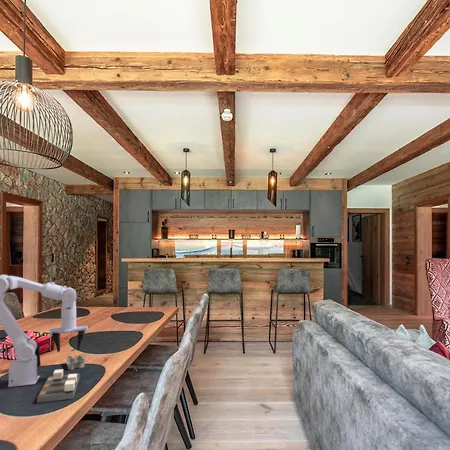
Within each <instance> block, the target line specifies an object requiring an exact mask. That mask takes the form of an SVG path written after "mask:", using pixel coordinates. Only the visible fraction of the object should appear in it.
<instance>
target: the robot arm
mask: <svg viewBox="0 0 450 450" xmlns="http://www.w3.org/2000/svg"><path fill="white" fill-rule="evenodd" d="M18 288H19V289H20V288H21V289H25V290H29V291H33V292H39V293H40V294H41V296H42V297H45V298H49V299H51V300H52V299H53V300H56V301H61V309H60V310H61V312H60V313H61V314H60V315H61V317H60V318H61V319H60V321H61V322H60V325H61V326H60V327H55V328H49V329H48V334H49V336H51V338H52V340H53V342H54V344H55V347H56V350H57V351H56V352H57V353H60V351H61V334H70V333H71V334H72V333H77V349H76V350H77V351H79V350H81V344H82V341H83V340H82V339H83V337H84V334H85V333H87V332H88V329H89V328H88V327H89V326H88V325H79V326H78V325H77V305H76V304H77V301H76V300H77V298H78V297H77V296H78V295H77V292H76V290H75V289H74V288H72V287H70V286H69V287H67V285H63V286H62V285H59V284H56V283H55V282H54V281H51V282H47V283H44V284H43V283H40V282H36V281H33V280H29V279H26V278H23V277H20V276H15V275H8V274H0V326H1V327H2V329H3V330H4V332H5V333H6V335H7V336H8V338H9V339H10V340H11V343H12V346H13V348H14V350H15V354H16V355H15V356H16V358H15V359H13V360H10V363H9V366H8V385H7V387H8V388H11V387H12V388H13V387H18V386H19V387H20V386H28V385H29V386H30V385H36V383H37V382H38V380H39V378H40V377H41V376H40V375H38V366H37V356H36V355H35V350H36V348H37V344H38V343H37V342H36V341H35V339H32V338H30V337H29V334H26V333H25V331H24V330H23V328H22V327H21V326H20V324H19V322H18V321H17V320H16V318H15V316H14V315H13V314H12V312H11V310H10V309H9V308H8V306H7V304H6V303H5V302H4V298H5V296H6V293H7V292H8V290H15V289H18Z"/></svg>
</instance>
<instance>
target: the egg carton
mask: <svg viewBox="0 0 450 450" xmlns="http://www.w3.org/2000/svg"><path fill="white" fill-rule="evenodd" d="M85 361H86V358H85V355H84V354H82V355H81V354H80V355H78V356H77V355H75V357H73V355H69V354H67V355H66V365H67V370H71V371H72V370H75V369H83V368H85V365H86V364H85ZM71 363H72V364H71Z"/></svg>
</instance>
